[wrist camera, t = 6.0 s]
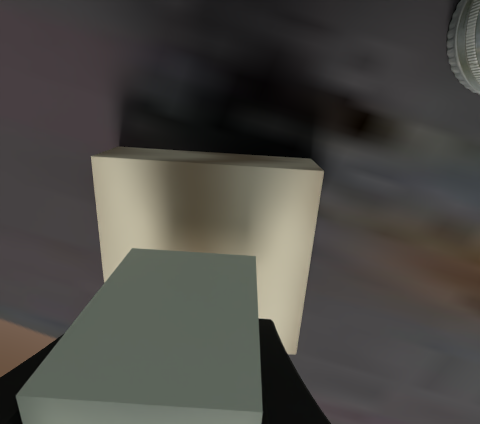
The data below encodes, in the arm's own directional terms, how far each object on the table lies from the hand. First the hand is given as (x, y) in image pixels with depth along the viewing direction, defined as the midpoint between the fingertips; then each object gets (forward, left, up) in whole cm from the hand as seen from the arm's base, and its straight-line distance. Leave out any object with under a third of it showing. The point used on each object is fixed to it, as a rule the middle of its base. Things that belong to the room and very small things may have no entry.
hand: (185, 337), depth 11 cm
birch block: (0, 0, -8) cm, 8 cm away
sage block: (0, 0, -2) cm, 2 cm away
